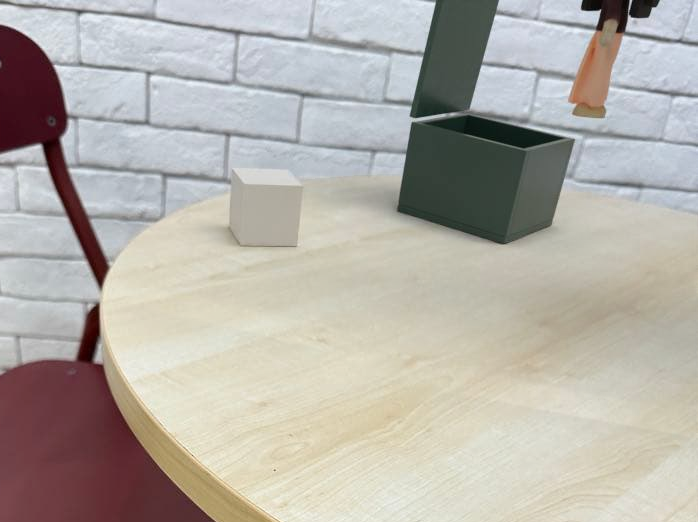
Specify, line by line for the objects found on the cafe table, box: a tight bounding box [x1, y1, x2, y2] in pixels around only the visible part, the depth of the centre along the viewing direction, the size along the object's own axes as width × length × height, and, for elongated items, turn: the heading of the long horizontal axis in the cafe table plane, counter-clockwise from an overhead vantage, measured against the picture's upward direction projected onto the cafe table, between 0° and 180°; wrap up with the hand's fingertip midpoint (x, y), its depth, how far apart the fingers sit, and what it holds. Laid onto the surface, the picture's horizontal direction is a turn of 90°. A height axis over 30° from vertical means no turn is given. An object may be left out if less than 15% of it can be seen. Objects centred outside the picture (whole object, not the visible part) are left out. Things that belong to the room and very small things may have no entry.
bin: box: [396, 112, 576, 245], centre depth 100 cm, size 15×13×10 cm
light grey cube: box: [228, 167, 304, 247], centre depth 87 cm, size 6×6×6 cm
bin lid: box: [409, 0, 500, 119], centre depth 96 cm, size 16×13×5 cm
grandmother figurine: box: [567, 0, 631, 119], centre depth 69 cm, size 8×4×13 cm, turn 169°
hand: (615, 11), depth 69 cm, fingers closed on grandmother figurine, 3 cm apart
